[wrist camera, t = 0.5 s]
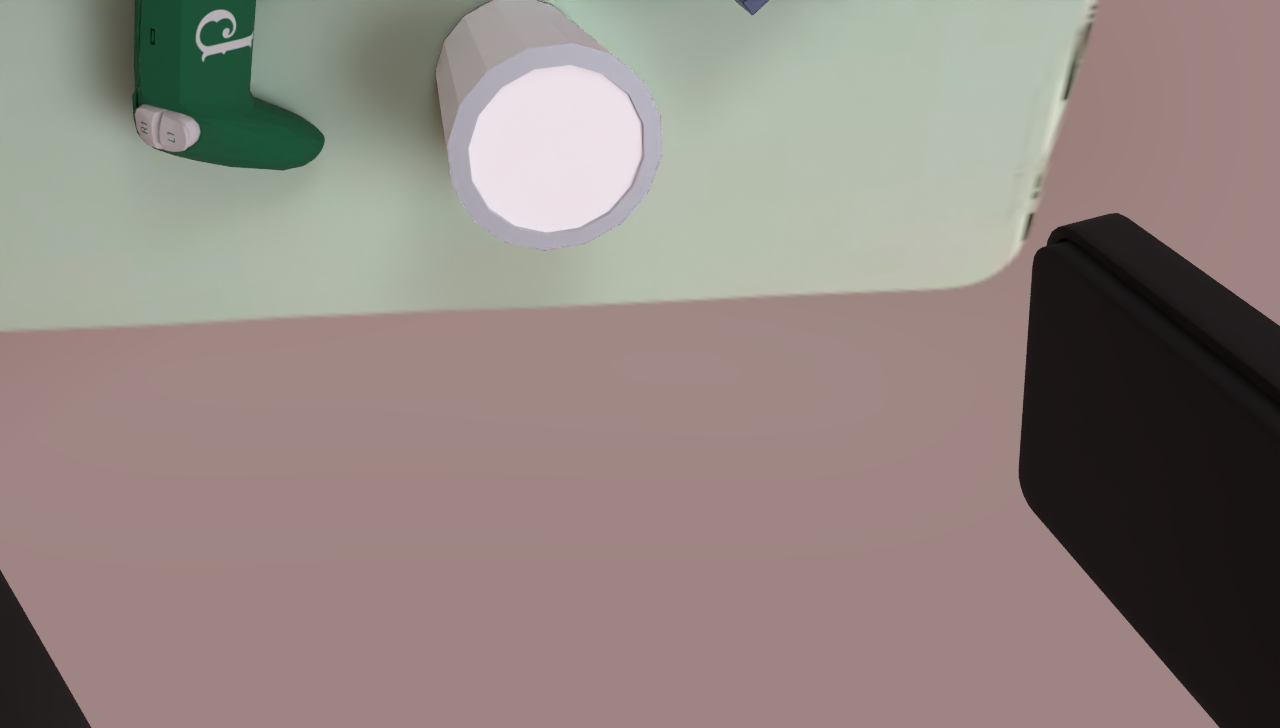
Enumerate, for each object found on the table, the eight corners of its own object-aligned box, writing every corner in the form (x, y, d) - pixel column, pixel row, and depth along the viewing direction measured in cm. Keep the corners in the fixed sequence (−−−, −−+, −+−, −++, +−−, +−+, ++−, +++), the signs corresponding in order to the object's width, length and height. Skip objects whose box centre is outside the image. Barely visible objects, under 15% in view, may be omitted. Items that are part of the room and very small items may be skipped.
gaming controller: (268, -141, 39) (114, -140, 34) (360, -108, 38) (213, -101, 33) (250, 129, 44) (111, 164, 39) (331, 167, 42) (198, 208, 38)
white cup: (452, 190, 45) (485, 280, 40) (389, 14, 41) (416, 86, 36) (626, 131, 46) (683, 212, 40) (582, -48, 42) (638, 13, 36)
